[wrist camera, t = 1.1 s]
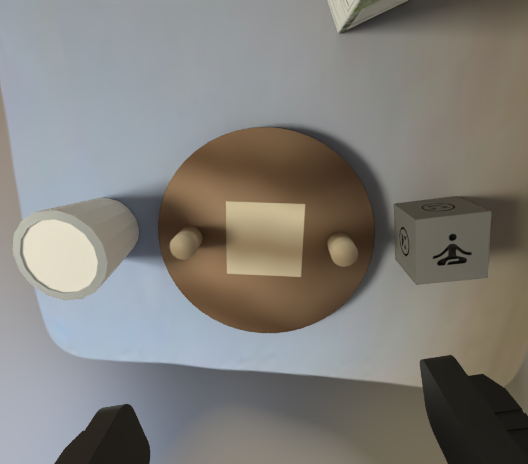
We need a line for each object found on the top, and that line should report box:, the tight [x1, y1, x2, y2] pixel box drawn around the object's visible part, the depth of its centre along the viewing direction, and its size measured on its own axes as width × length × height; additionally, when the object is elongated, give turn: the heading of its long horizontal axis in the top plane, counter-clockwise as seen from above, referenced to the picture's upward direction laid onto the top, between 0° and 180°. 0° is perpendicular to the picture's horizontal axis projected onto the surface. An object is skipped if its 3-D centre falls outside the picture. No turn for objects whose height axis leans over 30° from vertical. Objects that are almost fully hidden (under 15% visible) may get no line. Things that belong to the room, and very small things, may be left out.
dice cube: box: [394, 196, 492, 285], centre depth 26 cm, size 5×5×5 cm
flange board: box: [158, 127, 375, 333], centre depth 28 cm, size 18×18×4 cm
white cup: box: [13, 198, 139, 300], centre depth 27 cm, size 7×7×7 cm
